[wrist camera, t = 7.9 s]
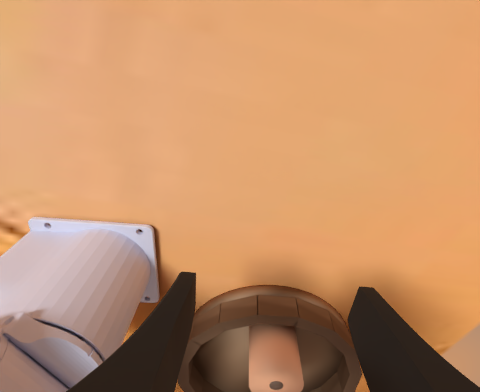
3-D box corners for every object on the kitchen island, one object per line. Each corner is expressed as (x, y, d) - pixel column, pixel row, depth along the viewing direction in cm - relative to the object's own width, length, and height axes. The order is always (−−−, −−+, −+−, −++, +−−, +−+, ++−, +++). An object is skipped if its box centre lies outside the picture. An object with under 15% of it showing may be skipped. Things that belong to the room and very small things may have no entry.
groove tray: (186, 388, 33) (180, 421, 30) (182, 278, 25) (173, 308, 22) (330, 398, 33) (338, 431, 30) (368, 291, 25) (383, 323, 22)
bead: (246, 339, 27) (245, 398, 22) (251, 308, 25) (252, 366, 21) (290, 343, 27) (298, 403, 22) (298, 312, 25) (309, 371, 21)
